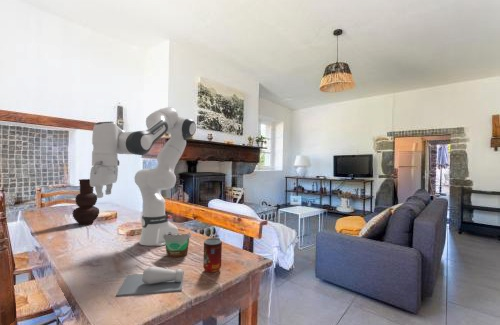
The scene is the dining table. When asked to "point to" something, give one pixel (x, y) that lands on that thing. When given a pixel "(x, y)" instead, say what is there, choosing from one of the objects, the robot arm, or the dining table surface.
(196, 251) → the dining table surface
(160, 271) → the salt shaker
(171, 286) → the mat
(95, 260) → the dining table surface
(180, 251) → the food container
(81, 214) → the vase
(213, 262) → the soda can
